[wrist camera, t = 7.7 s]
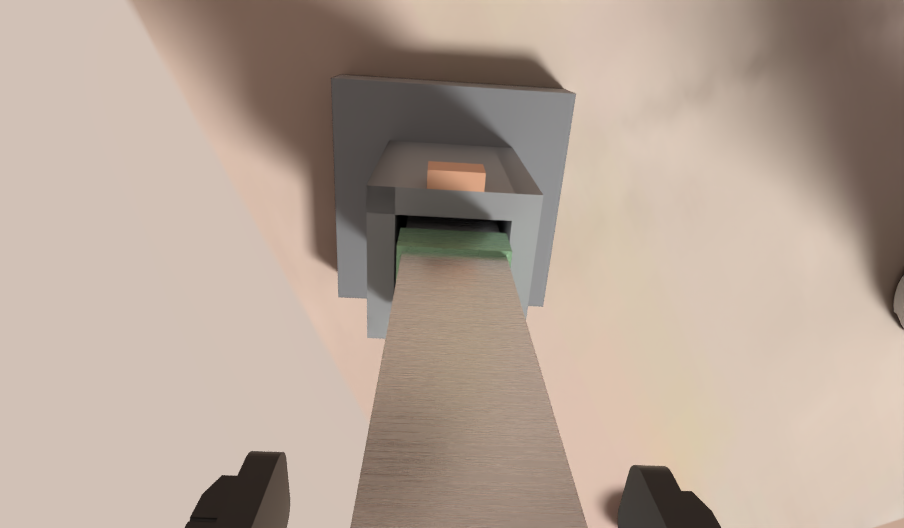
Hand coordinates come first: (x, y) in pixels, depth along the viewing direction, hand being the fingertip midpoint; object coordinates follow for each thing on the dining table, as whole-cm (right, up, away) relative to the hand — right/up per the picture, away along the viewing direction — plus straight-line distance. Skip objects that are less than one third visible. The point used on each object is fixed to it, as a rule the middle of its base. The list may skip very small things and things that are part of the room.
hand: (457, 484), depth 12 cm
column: (0, +6, +14) cm, 16 cm away
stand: (0, +10, +23) cm, 25 cm away
